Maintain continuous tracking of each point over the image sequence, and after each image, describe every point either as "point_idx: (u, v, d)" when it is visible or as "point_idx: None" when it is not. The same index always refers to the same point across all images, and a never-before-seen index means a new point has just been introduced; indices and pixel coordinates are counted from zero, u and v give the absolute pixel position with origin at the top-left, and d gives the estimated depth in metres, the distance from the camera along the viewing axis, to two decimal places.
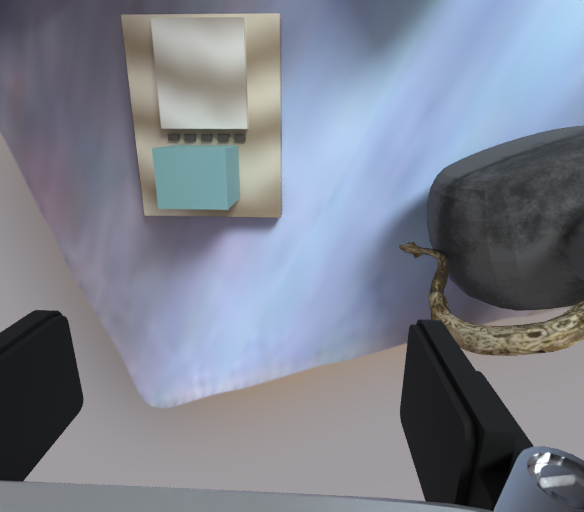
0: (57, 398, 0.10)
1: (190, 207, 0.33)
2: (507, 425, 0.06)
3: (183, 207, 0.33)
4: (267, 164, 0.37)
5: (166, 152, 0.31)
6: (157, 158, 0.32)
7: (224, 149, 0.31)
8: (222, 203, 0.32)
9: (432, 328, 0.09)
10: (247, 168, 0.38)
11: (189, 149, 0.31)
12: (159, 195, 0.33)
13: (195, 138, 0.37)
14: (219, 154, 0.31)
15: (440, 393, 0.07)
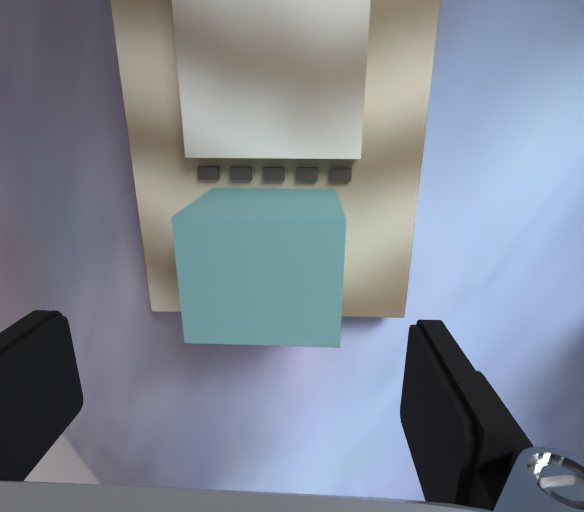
0: (57, 398, 0.10)
1: (255, 341, 0.15)
2: (506, 425, 0.06)
3: (240, 341, 0.15)
4: (389, 224, 0.19)
5: (206, 227, 0.13)
6: (184, 240, 0.14)
7: (344, 221, 0.13)
8: (328, 335, 0.14)
9: (432, 328, 0.09)
10: (349, 231, 0.20)
11: (260, 221, 0.13)
12: (187, 316, 0.15)
13: (251, 175, 0.19)
14: (331, 233, 0.13)
15: (440, 393, 0.07)
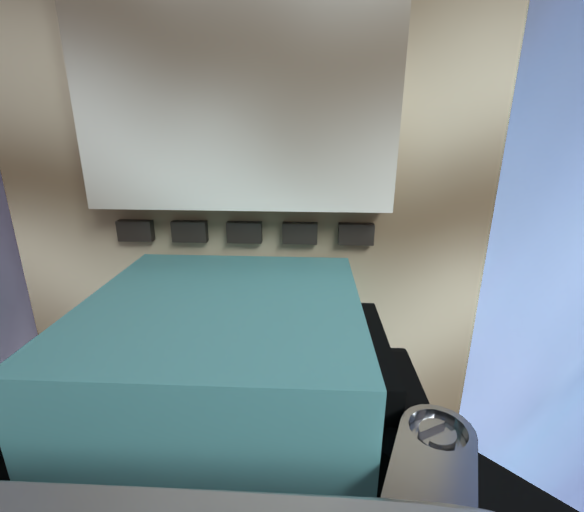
0: None
1: None
2: (399, 386, 0.07)
3: None
4: (434, 312, 0.12)
5: (63, 401, 0.06)
6: (18, 425, 0.06)
7: (381, 394, 0.06)
8: None
9: (363, 310, 0.10)
10: None
11: (185, 391, 0.06)
12: None
13: (207, 235, 0.11)
14: (351, 417, 0.06)
15: None
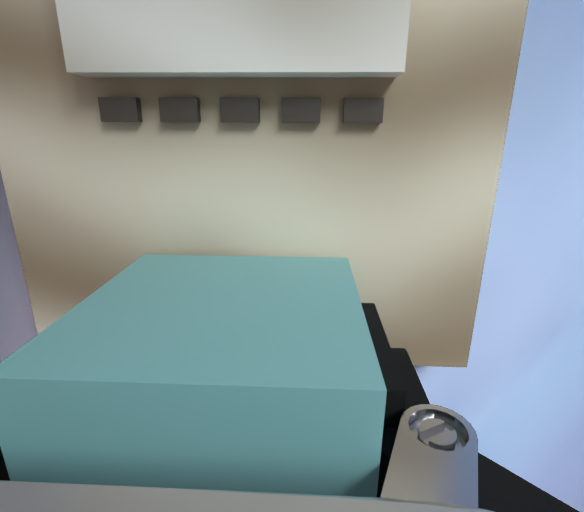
0: None
1: None
2: (399, 386, 0.07)
3: None
4: (448, 205, 0.11)
5: (63, 400, 0.06)
6: (18, 424, 0.06)
7: (381, 393, 0.06)
8: None
9: (363, 310, 0.10)
10: (376, 218, 0.11)
11: (185, 390, 0.06)
12: None
13: (198, 114, 0.10)
14: (351, 416, 0.06)
15: None
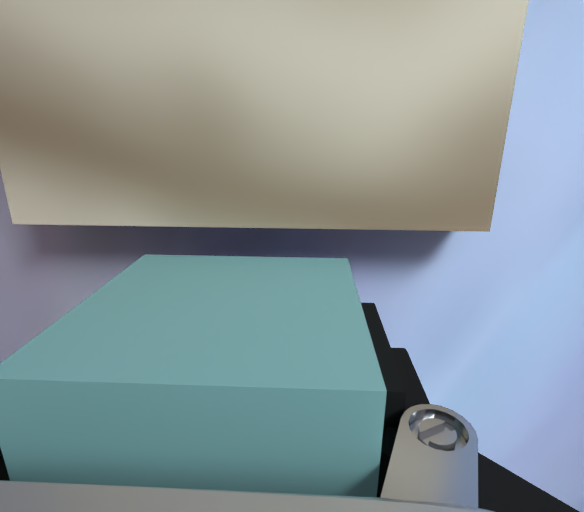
0: None
1: None
2: (399, 386, 0.07)
3: None
4: (472, 22, 0.09)
5: (63, 400, 0.06)
6: (18, 425, 0.06)
7: (381, 393, 0.06)
8: None
9: (363, 310, 0.10)
10: (389, 41, 0.10)
11: (185, 390, 0.06)
12: None
13: None
14: (351, 416, 0.06)
15: None
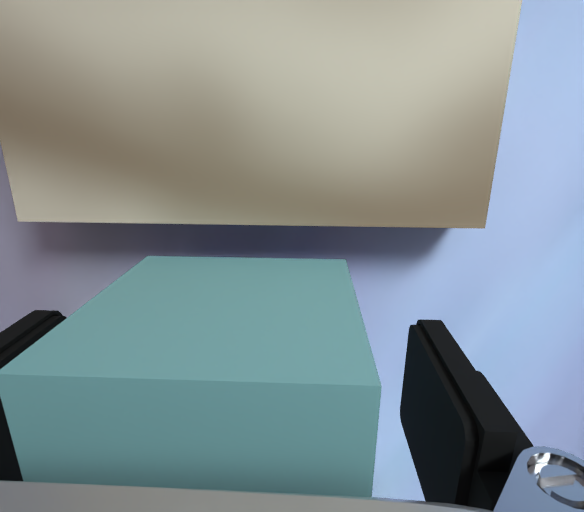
0: None
1: None
2: (506, 425, 0.06)
3: None
4: (467, 24, 0.10)
5: (73, 395, 0.06)
6: (29, 419, 0.06)
7: (376, 388, 0.06)
8: None
9: (432, 328, 0.09)
10: (386, 42, 0.10)
11: (190, 385, 0.06)
12: None
13: None
14: (347, 410, 0.06)
15: (440, 393, 0.07)
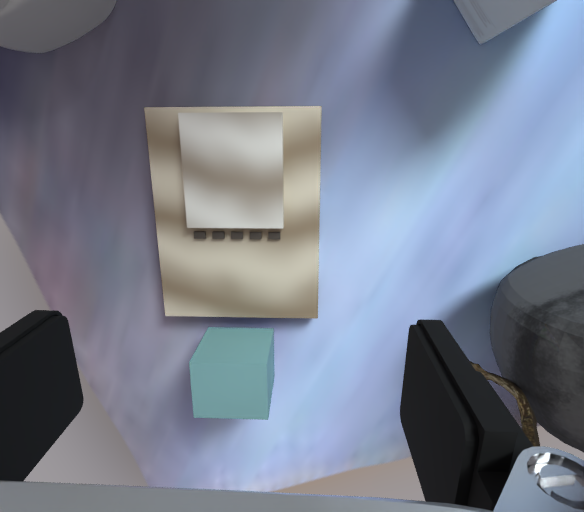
0: (57, 398, 0.10)
1: (228, 417, 0.31)
2: (506, 424, 0.06)
3: (220, 416, 0.31)
4: (304, 263, 0.34)
5: (204, 367, 0.30)
6: (194, 372, 0.30)
7: (266, 364, 0.29)
8: (262, 413, 0.31)
9: (432, 328, 0.09)
10: (281, 267, 0.34)
11: (228, 364, 0.30)
12: (195, 405, 0.31)
13: (224, 236, 0.33)
14: (260, 369, 0.30)
15: (440, 393, 0.07)
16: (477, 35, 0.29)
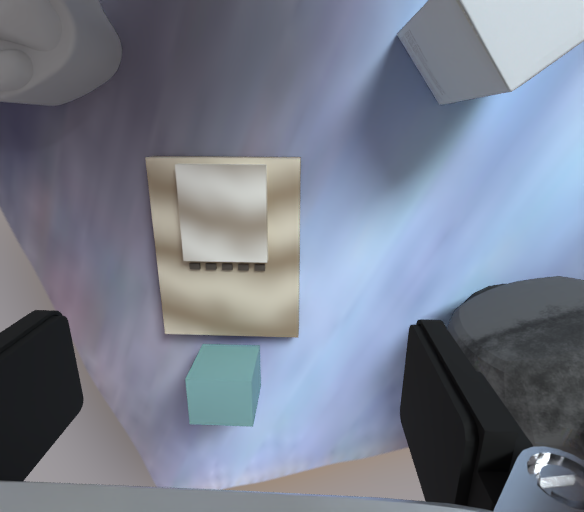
0: (57, 398, 0.10)
1: (218, 424, 0.36)
2: (507, 425, 0.06)
3: (212, 423, 0.36)
4: (286, 290, 0.38)
5: (198, 383, 0.35)
6: (190, 387, 0.35)
7: (250, 381, 0.35)
8: (248, 421, 0.36)
9: (432, 328, 0.09)
10: (266, 293, 0.39)
11: (219, 381, 0.35)
12: (191, 414, 0.36)
13: (216, 267, 0.38)
14: (246, 385, 0.35)
15: (440, 393, 0.07)
16: (437, 98, 0.33)
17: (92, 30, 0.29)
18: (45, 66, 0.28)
